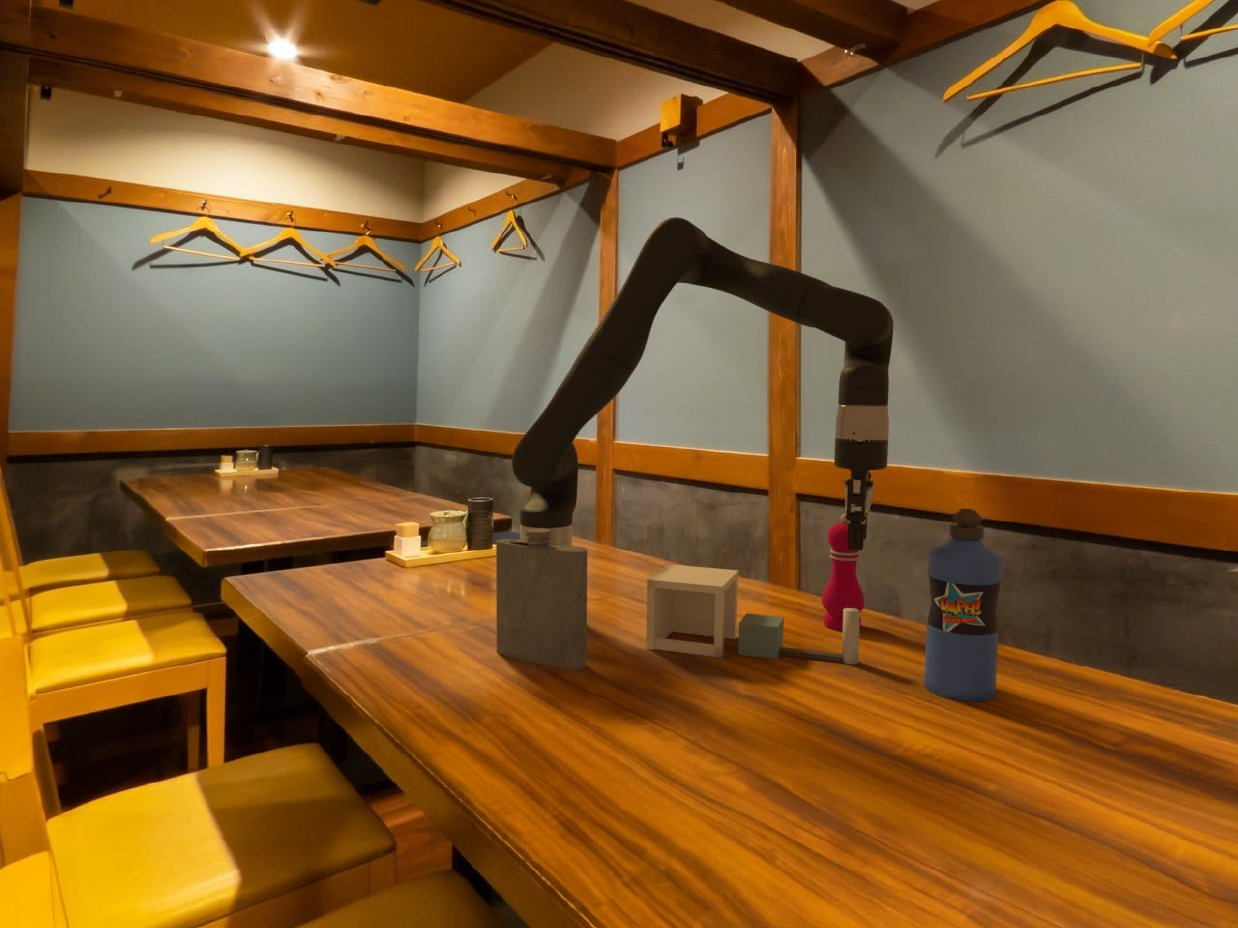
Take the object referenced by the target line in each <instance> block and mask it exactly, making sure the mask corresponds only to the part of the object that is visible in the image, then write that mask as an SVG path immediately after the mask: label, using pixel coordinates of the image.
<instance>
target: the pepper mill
mask: <svg viewBox="0 0 1238 928" xmlns="http://www.w3.org/2000/svg"><path fill="white" fill-rule="evenodd" d="M846 515H847V513H843V514H842V515H841V516H840V522H837V523H833V525H831V527H829V529H828V532H827V536H826V537H827V542H828V544H829V545H830V547H831V549H830V550H829V552H830V554H829V557H830V558H831V559H832V560H831V561H832V567H831V575H830V577H829V580H828V582H827V584H826V586H825V588H824V590H823V592H822V597H821V604H822V607H824V609H825V611H826V613H825V614H823V625H824V626H825V627H827V629H831V630H834V631H835V630H836V631H841V632H843V609H845V608H854V609H858V610H860V613H861V612H862V611H863V609H864V608H865V597H864V593H863V591H862V588H861V586H860V583H859V581H858V576H857V562H858V560H860V553H861V552H860V550H850V549H848V547H847V539H848V523H847V521H846ZM861 625H862V618H861V616H860V625H859V630H860V629H861V627H862V626H861Z"/></svg>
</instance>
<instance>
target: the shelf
mask: <svg viewBox="0 0 1238 928" xmlns="http://www.w3.org/2000/svg"><path fill="white" fill-rule="evenodd" d="M646 581H647V583H646V584H647V585H646V591H647V592H646V593H647V594H646V643H645V644H646V650H651V651H652V650H653V651H654V650H658V651H659V650H660V651H661V650H662V651H668V652H675V653H676V652H677V653H684V654H691V655H698V656H706V657H707V656H708V657H714V658H723V656H724V643H725V641H724V639H731V640H736V638H737V630H738V629H737V626H738V625H737V624H738V623H737V622H738V621H737V620H738V591H739V590H738V589H739V588H738V585H739V583H738V581H739V570H735V569H726V568H725V569H724V568H723V569H722V568H715V567H705V566H704V567H703V566H690V565H679V564H678V565H677V564H668V565H666V566H665V567H663V568H662V569H660V570H659V571H658V572H656V573H655V574H653V575H652V576H651V577H649V578H647V580H646ZM672 633H681V634H688V635H689V634H690V635H697V636H705V637H713V643H714V644H712V643H704V642H703V643H702V642H698V641H697V642H695V641H688V640H680V639H671V638H668V637H669V635H671V634H672Z"/></svg>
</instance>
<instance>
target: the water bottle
mask: <svg viewBox="0 0 1238 928" xmlns="http://www.w3.org/2000/svg"><path fill="white" fill-rule="evenodd" d="M951 518H952V519H953V521H954V522H955V523H952V524H950V525H949V537H951V538H950V539H949V540H948V541H947V542H946V543H943V544H939V545H937V546H936V547H933V548H930V549H929V550H928V560H927V562H928V563H927V574H928V578H929V581H928V582H929V591H930V608H929V612H928V616H927V622H926V630H925V633H926V636H925V651H924V652H925V653H924V654H925V655H924V676H923V677H924V679H923V685H924V688H925V689H926V690H928V691H929V692H930V693H932V694H934V695H937V696H939V697H941V698H944V699H945V698H946V699H949V700H954V701H958V702H959V701H960V702H968V703H969V702H970V703H972V702H973V703H977V702H979V703H980V702H981V703H982V702H987V701H991V700H993V699H994V698H995V697H996V691H997V690H996V689H997V687H996V686H997V673H998V672H997V669H998V655H999V654H998V652H999V650H998V647H999V627H998V616H997V607H998V601H999V596H1000V595H999V594H1000V590H1001V585H1002V584H1001V583H1002V582H1003V581H1004V580H1003V578H1004V577H1003V576H1004V561H1005V560H1004V558H1005V556H1004V555H1003V554H1001V553H1000V552H997V551H996V550H994V549H992V548H990V547H989V546H987V545H986V544H985V543H984V542H983V541H982V540H983V539H984V537H985V536H984V535H985V527H984V526H983V525H979V524H980V523H982V521H983V520H984V518H983V517H982V516H981V515H980V514H979V512H977V510H976V509H974V508H973V509H972V508H960V509H959V510H958V511H957V512H955V513H954V514H953V516H951Z"/></svg>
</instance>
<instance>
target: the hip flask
mask: <svg viewBox="0 0 1238 928" xmlns="http://www.w3.org/2000/svg"><path fill="white" fill-rule="evenodd" d="M526 536H528V537H529V539H527V540H522V539H519V538H517V539H512V538H504V539H503V538H502V539H497V540H496V542H495V543H496V544H495V545H496V547H495V548H496V549H495V552H496V557H495V558H496V560H495V561H496V562H495V563H496V565H495V567H496V569H495V570H496V571H495V572H496V575H495V576H496V577H495V578H496V580H495V581H496V583H495V584H496V585H495V586H496V654H498V655H501V656H504V657H507V658H510V659H515V660H518V661H522V662H527V663H530V664H531V663H532V664H536V665H541V666H547V667H550V668H557V669H566V670H575V671H576V670H577V671H579V670H583V669H585V668H587V663H588V662H587V661H588V660H587V657H588V655H587V653H588V652H587V649H588V648H587V645H588V636H587V635H588V549H587V548H586V547H578V546H576V547H575V546H572V547H566V546H556V545H548V543H549V538H548V536H550V530H549V529H543V528H534V529H528V530H526Z"/></svg>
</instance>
